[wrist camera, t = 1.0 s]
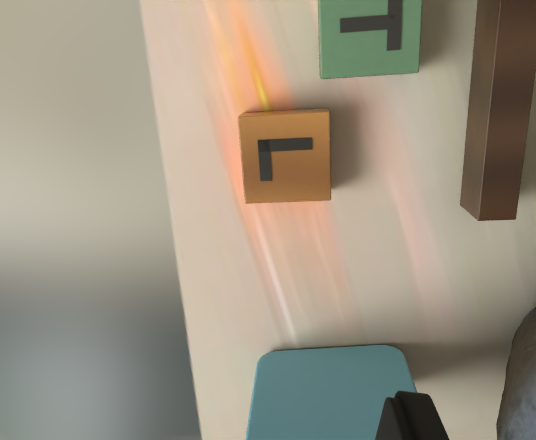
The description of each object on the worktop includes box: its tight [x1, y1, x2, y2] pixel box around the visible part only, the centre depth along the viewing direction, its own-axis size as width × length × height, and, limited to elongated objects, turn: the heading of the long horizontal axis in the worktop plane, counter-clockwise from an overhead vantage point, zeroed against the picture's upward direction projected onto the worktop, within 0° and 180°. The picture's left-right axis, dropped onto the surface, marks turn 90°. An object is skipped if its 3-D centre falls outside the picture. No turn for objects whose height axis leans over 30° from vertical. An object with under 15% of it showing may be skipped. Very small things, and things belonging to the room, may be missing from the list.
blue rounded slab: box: [246, 345, 417, 440], centre depth 32 cm, size 12×4×12 cm, turn 97°
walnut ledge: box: [460, 0, 536, 221], centre depth 27 cm, size 16×2×4 cm, turn 3°
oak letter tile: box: [238, 108, 331, 203], centre depth 30 cm, size 6×6×3 cm
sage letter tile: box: [318, 0, 422, 79], centre depth 27 cm, size 6×6×3 cm
